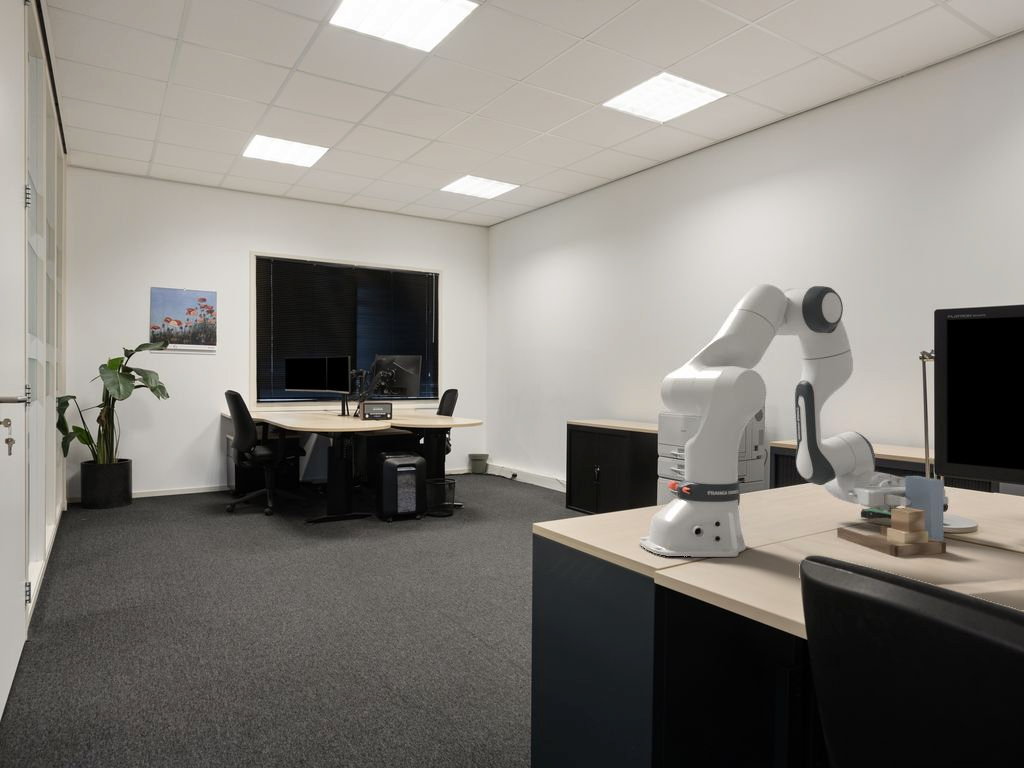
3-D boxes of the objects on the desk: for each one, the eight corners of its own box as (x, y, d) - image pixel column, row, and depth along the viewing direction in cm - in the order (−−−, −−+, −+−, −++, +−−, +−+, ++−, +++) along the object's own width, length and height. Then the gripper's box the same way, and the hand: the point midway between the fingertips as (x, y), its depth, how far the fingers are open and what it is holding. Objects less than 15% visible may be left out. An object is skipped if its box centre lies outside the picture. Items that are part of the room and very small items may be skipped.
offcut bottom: (904, 553, 127) (904, 533, 127) (887, 547, 132) (887, 528, 132) (928, 551, 128) (928, 531, 128) (910, 546, 133) (910, 526, 133)
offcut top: (908, 532, 128) (908, 512, 128) (891, 528, 131) (891, 509, 131) (924, 530, 129) (924, 510, 129) (906, 526, 133) (906, 507, 133)
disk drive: (941, 526, 161) (882, 514, 173) (941, 514, 161) (882, 504, 173) (919, 531, 155) (859, 518, 168) (919, 519, 155) (859, 508, 168)
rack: (893, 563, 125) (893, 546, 125) (837, 543, 141) (837, 527, 141) (946, 560, 127) (946, 542, 127) (884, 540, 143) (884, 525, 143)
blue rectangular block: (931, 546, 137) (931, 480, 137) (905, 538, 144) (905, 476, 144) (943, 545, 137) (943, 480, 137) (916, 537, 144) (916, 475, 144)
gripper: (841, 479, 151) (885, 488, 138) (915, 476, 155) (966, 485, 142) (841, 506, 151) (885, 518, 138) (915, 502, 155) (966, 514, 142)
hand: (927, 501), depth 140 cm, fingers open, 8 cm apart
